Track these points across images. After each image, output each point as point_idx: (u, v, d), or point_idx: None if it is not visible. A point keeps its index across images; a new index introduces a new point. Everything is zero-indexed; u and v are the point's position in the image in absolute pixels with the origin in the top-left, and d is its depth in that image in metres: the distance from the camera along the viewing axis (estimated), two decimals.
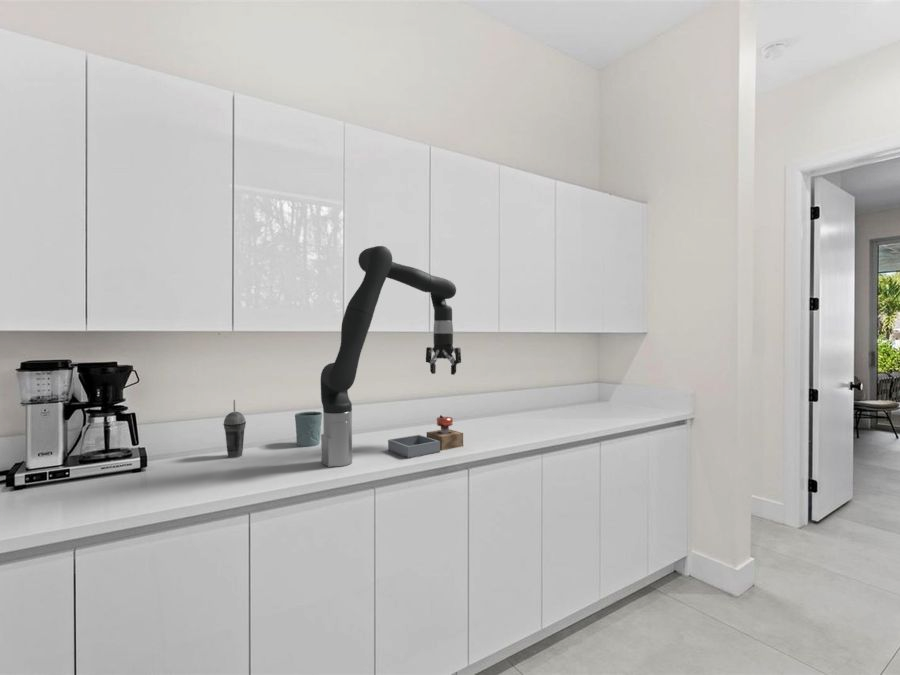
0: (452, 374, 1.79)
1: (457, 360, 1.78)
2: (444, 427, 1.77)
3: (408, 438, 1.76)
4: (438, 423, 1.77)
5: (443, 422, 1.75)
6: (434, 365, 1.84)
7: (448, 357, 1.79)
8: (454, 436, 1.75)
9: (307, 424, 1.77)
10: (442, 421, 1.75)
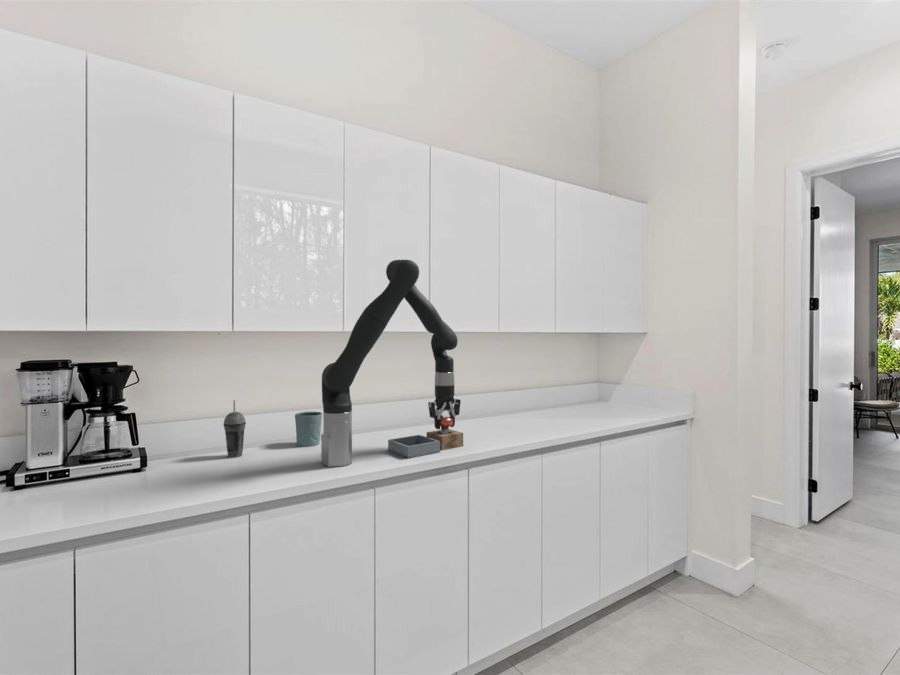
0: (453, 426, 1.80)
1: (458, 412, 1.81)
2: (444, 427, 1.77)
3: (408, 438, 1.76)
4: None
5: (443, 422, 1.75)
6: None
7: (452, 409, 1.79)
8: (454, 436, 1.75)
9: (307, 424, 1.77)
10: (442, 421, 1.76)
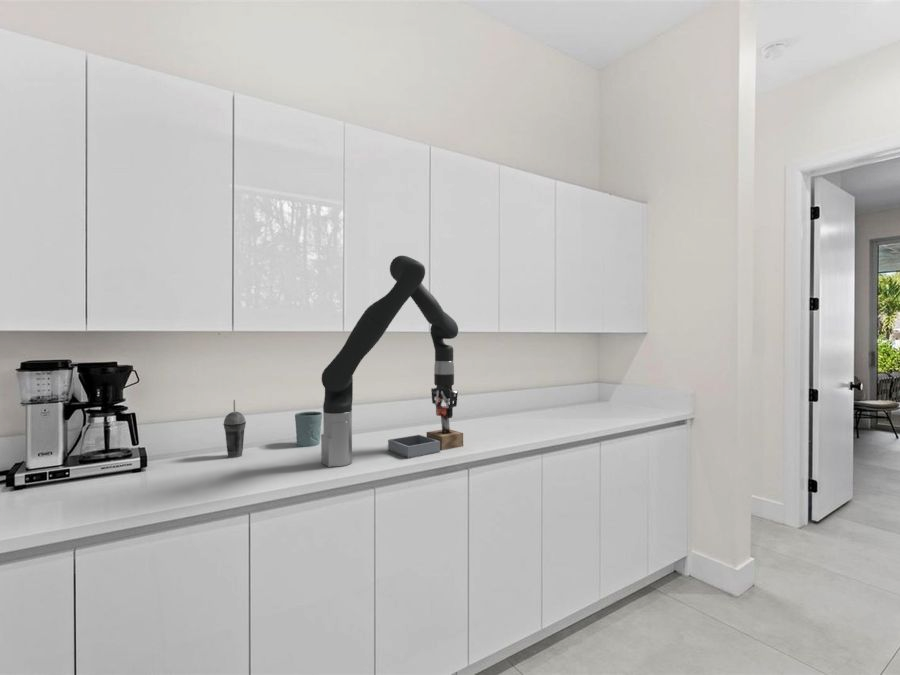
0: None
1: None
2: None
3: (408, 438, 1.76)
4: None
5: None
6: None
7: None
8: (454, 436, 1.75)
9: (307, 424, 1.77)
10: None
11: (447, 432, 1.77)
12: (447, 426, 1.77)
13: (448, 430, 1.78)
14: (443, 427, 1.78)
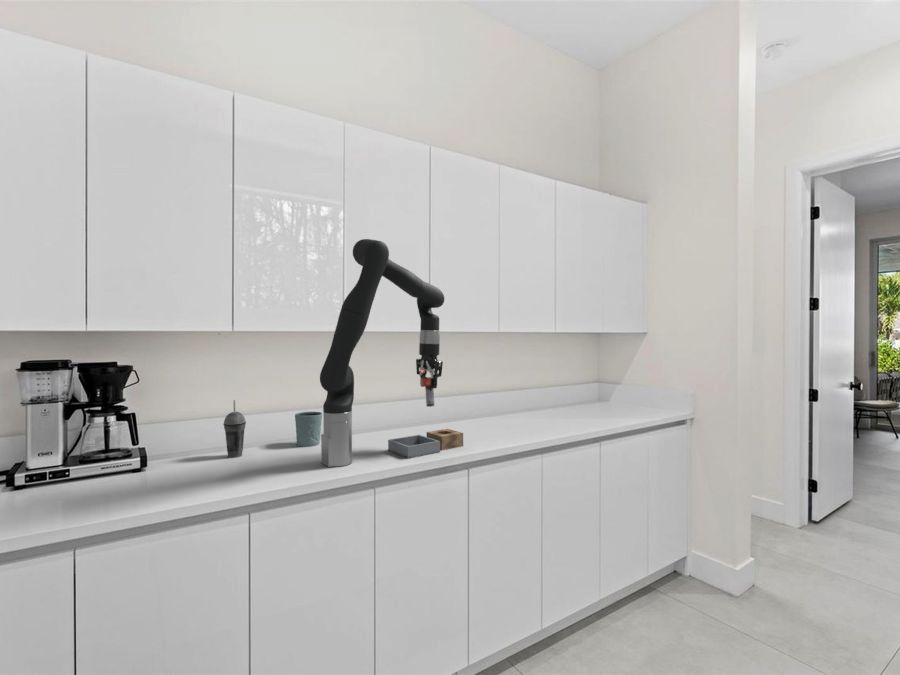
0: (424, 386, 1.78)
1: None
2: None
3: (408, 438, 1.76)
4: None
5: None
6: None
7: None
8: (454, 436, 1.75)
9: (307, 424, 1.77)
10: None
11: (431, 403, 1.74)
12: (431, 397, 1.74)
13: (432, 401, 1.74)
14: (427, 398, 1.74)
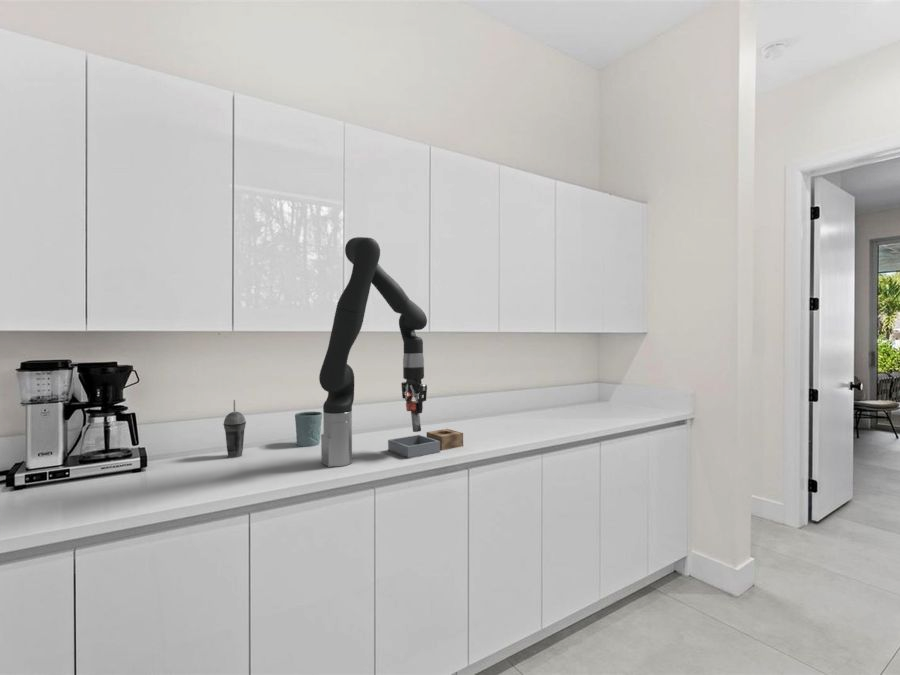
0: None
1: None
2: None
3: (408, 438, 1.76)
4: None
5: (422, 404, 1.69)
6: None
7: None
8: (454, 436, 1.75)
9: (307, 424, 1.77)
10: None
11: (417, 428, 1.68)
12: (417, 422, 1.68)
13: (418, 426, 1.69)
14: (413, 423, 1.69)
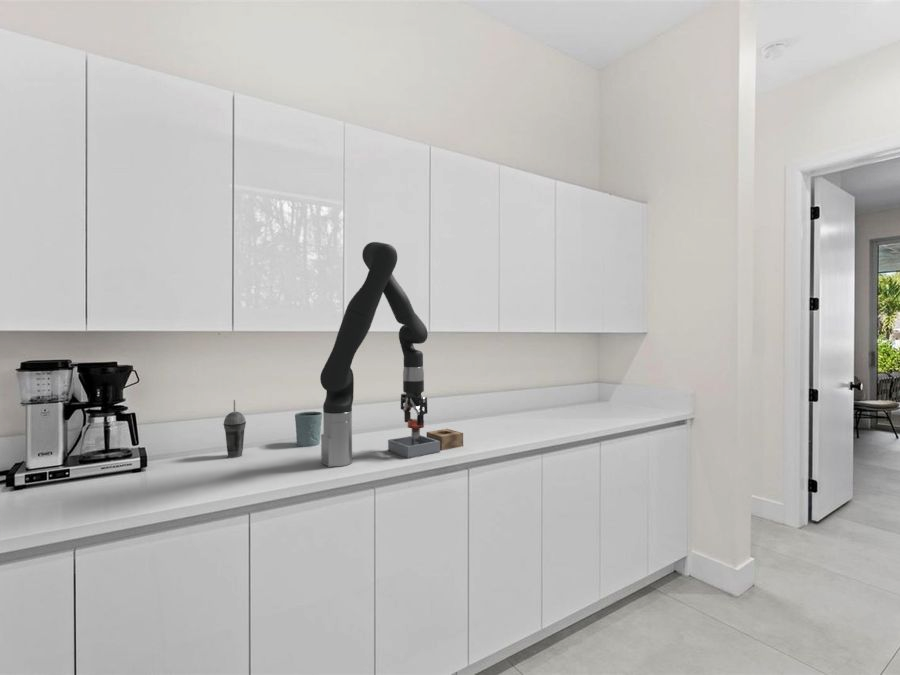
0: None
1: None
2: (419, 429, 1.71)
3: (408, 438, 1.76)
4: None
5: (423, 423, 1.71)
6: None
7: None
8: (454, 436, 1.75)
9: (307, 424, 1.77)
10: None
11: None
12: (417, 440, 1.70)
13: (417, 444, 1.70)
14: (413, 440, 1.70)
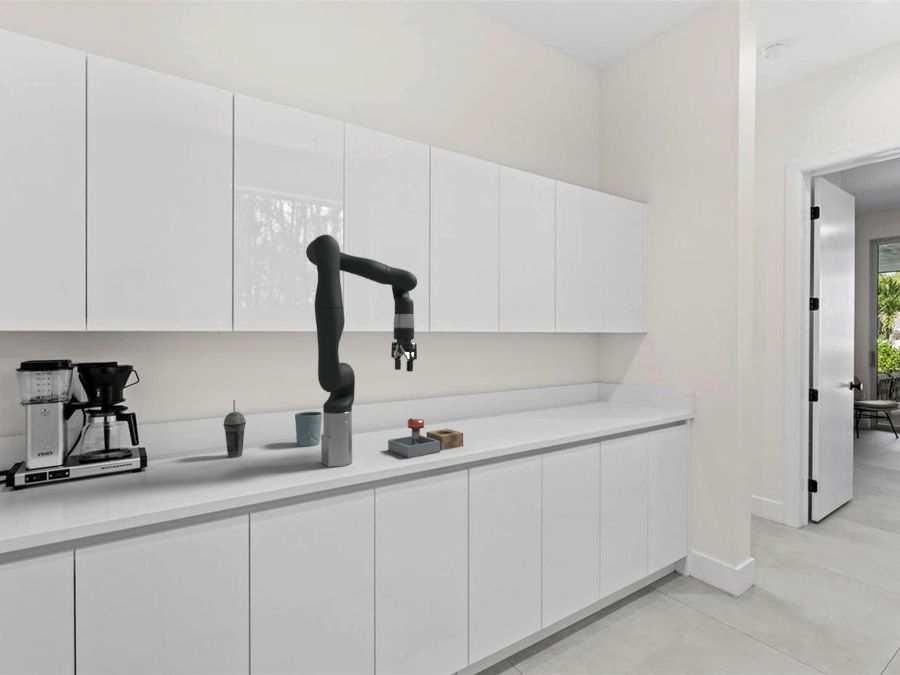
0: (399, 369, 1.77)
1: None
2: (419, 429, 1.71)
3: (408, 438, 1.76)
4: (420, 426, 1.68)
5: (423, 423, 1.70)
6: None
7: None
8: (454, 436, 1.75)
9: (307, 424, 1.77)
10: (423, 422, 1.70)
11: None
12: (417, 440, 1.69)
13: (417, 444, 1.70)
14: (413, 441, 1.70)
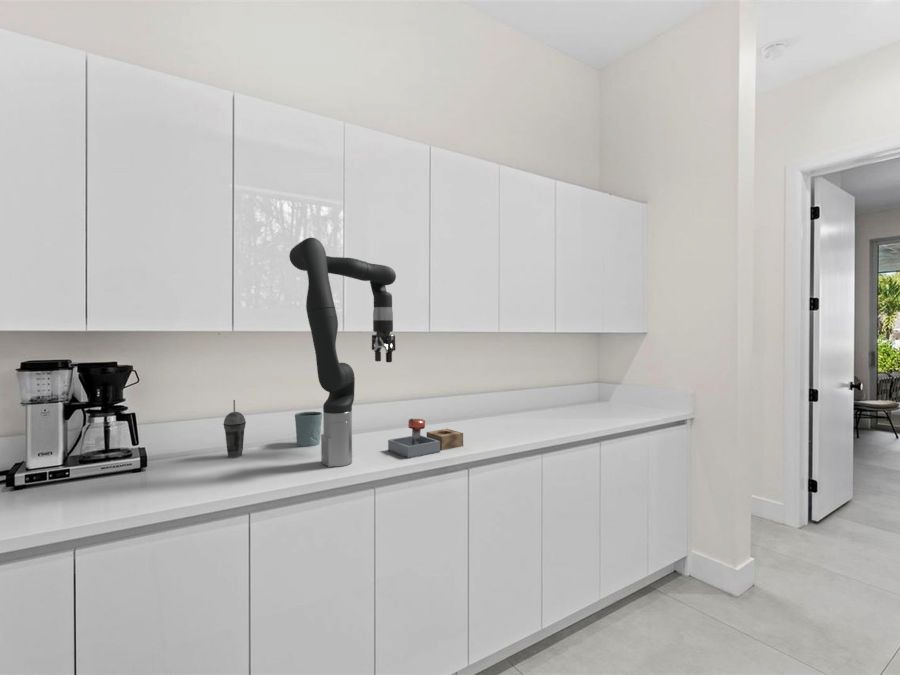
0: (379, 360, 1.83)
1: None
2: (420, 429, 1.70)
3: (408, 438, 1.76)
4: (420, 426, 1.68)
5: (424, 424, 1.70)
6: None
7: None
8: (454, 436, 1.75)
9: (307, 424, 1.77)
10: (424, 423, 1.69)
11: None
12: (417, 441, 1.69)
13: None
14: (413, 441, 1.69)
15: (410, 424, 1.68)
